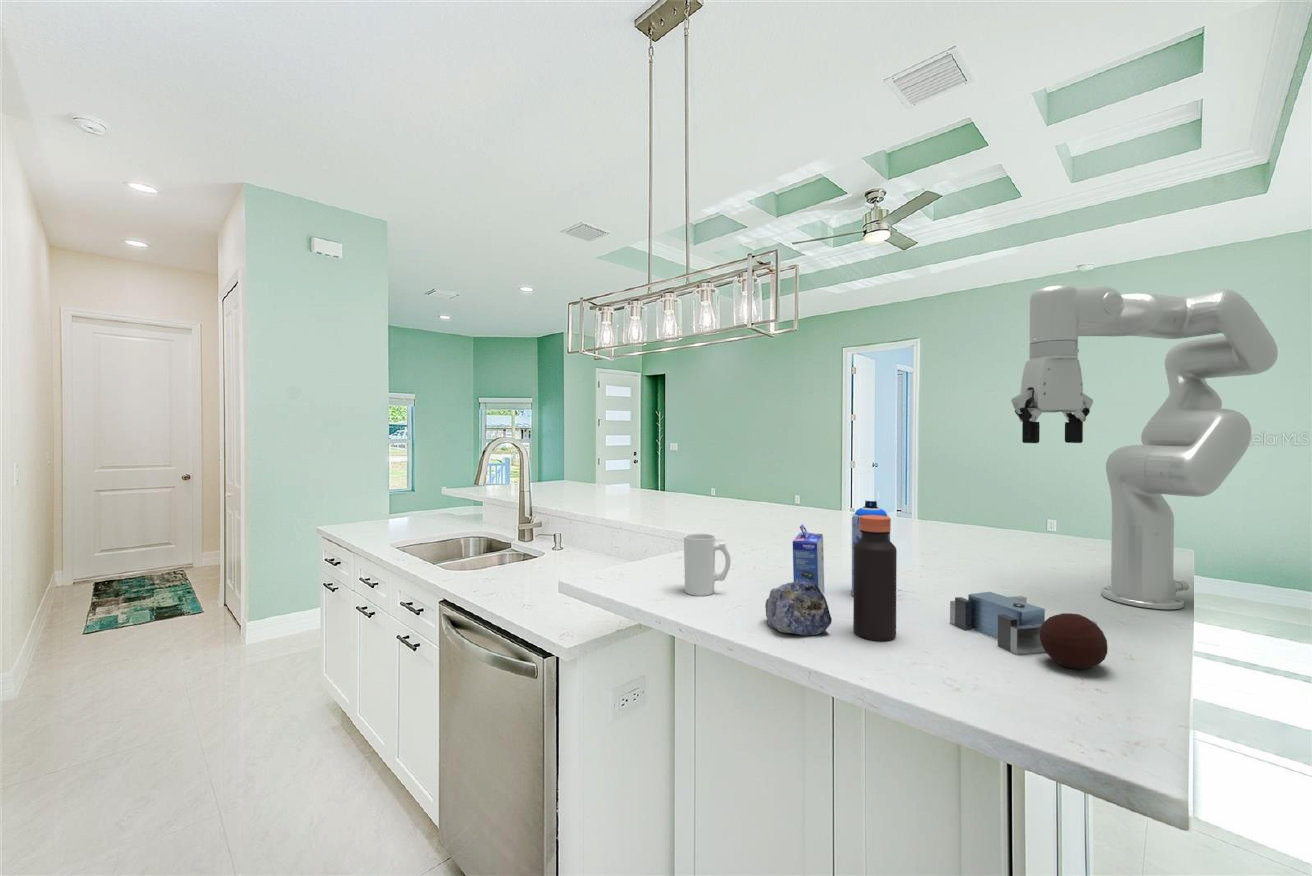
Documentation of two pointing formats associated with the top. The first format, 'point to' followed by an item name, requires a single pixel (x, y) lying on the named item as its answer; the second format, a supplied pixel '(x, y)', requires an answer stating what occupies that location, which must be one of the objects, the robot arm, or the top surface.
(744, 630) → the top surface
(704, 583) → the mug
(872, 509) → the aerosol can
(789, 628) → the rock
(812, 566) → the ink cartridge box
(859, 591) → the bottle
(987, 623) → the lock block
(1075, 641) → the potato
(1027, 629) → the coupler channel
